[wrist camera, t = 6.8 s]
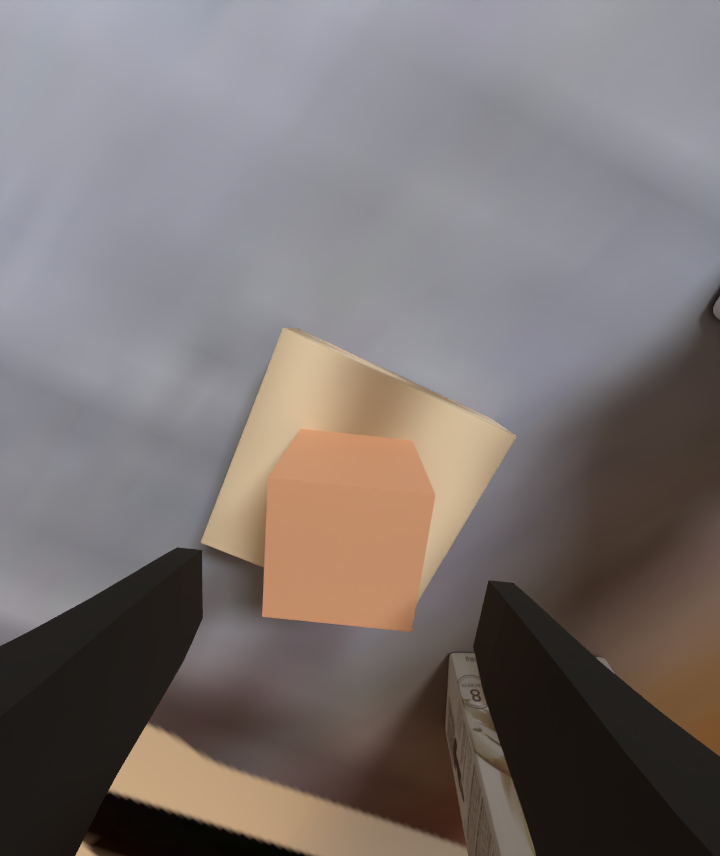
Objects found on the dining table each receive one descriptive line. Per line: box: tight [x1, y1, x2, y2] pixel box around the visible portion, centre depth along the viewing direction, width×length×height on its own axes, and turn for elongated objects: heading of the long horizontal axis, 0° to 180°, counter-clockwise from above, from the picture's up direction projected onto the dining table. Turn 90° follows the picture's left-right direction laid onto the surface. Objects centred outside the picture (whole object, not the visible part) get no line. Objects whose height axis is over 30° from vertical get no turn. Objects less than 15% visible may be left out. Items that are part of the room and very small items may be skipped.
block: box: [262, 429, 435, 632], centre depth 13 cm, size 4×4×5 cm
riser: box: [201, 328, 516, 602], centre depth 17 cm, size 10×10×3 cm
